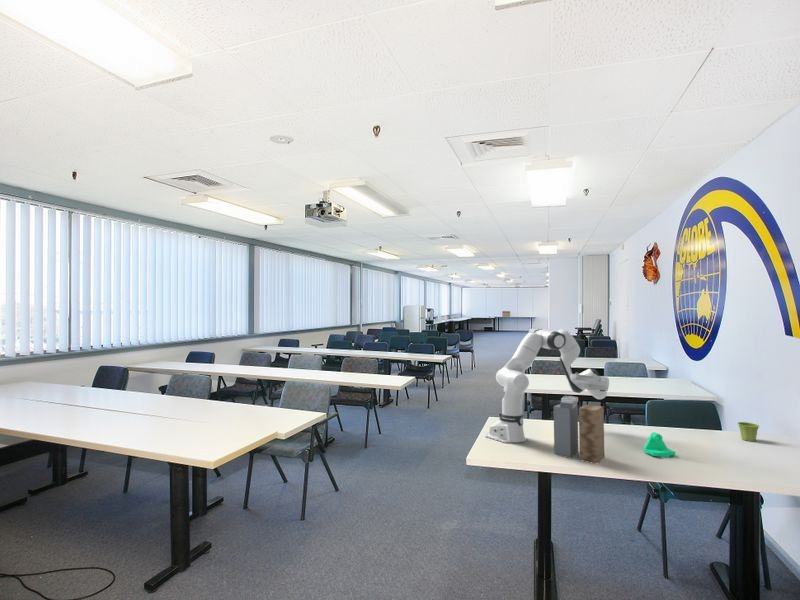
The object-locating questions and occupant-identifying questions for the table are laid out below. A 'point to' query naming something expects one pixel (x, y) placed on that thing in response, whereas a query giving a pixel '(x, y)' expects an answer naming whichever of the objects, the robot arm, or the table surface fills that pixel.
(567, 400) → the wood and grey block
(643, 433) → the table surface
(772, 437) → the table surface
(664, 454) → the camera mount
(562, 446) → the grey stand
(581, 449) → the walnut stand
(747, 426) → the plant pot
